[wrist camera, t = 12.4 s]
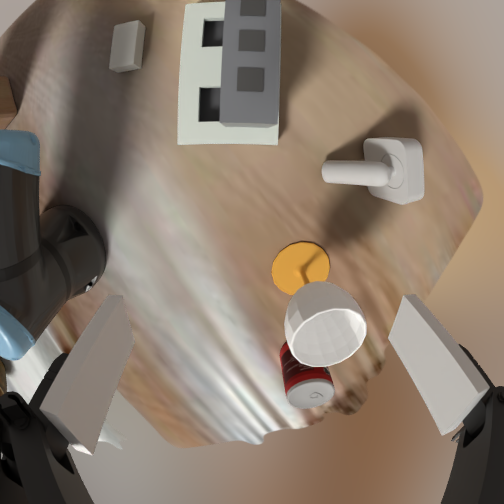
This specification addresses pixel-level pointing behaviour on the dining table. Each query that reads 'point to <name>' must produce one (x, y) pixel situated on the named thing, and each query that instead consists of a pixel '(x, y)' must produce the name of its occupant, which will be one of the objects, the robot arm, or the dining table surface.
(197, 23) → the keyhole board
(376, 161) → the wall hook
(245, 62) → the grey slotted block
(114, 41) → the foam block
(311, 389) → the canned food
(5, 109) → the wooden block
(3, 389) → the bowl
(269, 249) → the dining table surface
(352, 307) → the cup
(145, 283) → the dining table surface
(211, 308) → the dining table surface
